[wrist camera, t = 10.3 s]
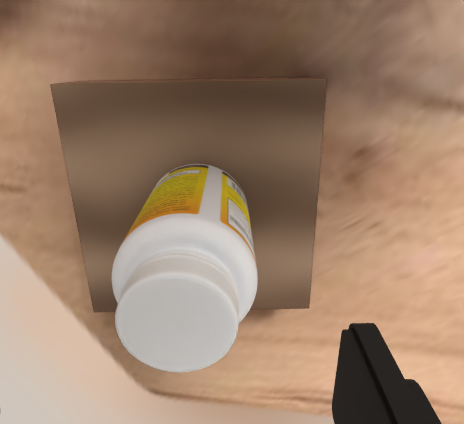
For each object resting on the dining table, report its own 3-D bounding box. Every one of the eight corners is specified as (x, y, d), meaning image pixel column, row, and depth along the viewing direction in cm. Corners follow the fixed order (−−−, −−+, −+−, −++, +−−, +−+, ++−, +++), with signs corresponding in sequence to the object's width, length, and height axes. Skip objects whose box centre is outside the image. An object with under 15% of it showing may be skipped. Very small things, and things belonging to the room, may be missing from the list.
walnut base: (80, 80, 22) (50, 84, 18) (310, 77, 22) (326, 79, 18) (112, 278, 27) (93, 312, 24) (298, 275, 27) (309, 308, 24)
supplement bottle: (136, 227, 21) (64, 357, 12) (174, 143, 20) (123, 218, 10) (221, 264, 22) (216, 411, 13) (265, 187, 21) (296, 294, 11)
